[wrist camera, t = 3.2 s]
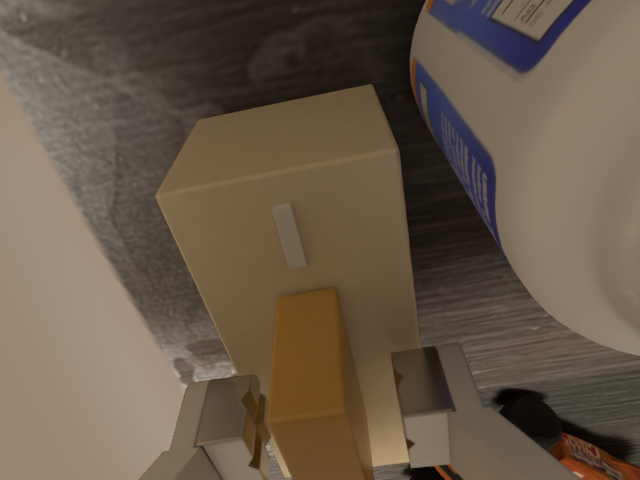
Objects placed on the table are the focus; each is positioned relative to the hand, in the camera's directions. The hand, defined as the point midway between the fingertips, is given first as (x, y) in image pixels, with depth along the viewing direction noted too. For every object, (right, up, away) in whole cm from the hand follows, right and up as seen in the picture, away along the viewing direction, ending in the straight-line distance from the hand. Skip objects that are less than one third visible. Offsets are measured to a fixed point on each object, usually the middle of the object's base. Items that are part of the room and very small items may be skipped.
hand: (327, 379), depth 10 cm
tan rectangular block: (0, +3, +4) cm, 5 cm away
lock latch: (0, 0, +1) cm, 1 cm away
